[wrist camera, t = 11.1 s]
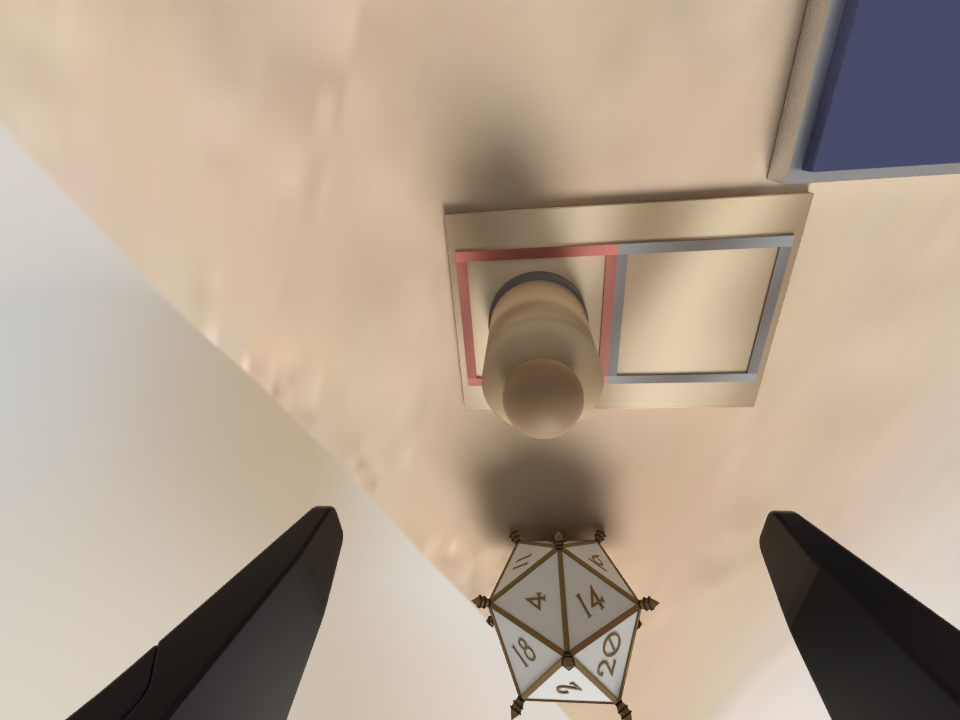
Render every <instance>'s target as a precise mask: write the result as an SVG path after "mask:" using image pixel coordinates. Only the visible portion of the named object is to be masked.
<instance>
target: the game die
mask: <svg viewBox="0 0 960 720" xmlns="http://www.w3.org/2000/svg"><path fill="white" fill-rule="evenodd" d="M509 537H510V538H511V539H512V541H514V542H515V543H516V545H515V547H514V549H513V551H512V553H511V555H510V557H509V560H508V562H507V564H506V566H505V568H504V570H503V572H502V574H501V576H500V578H499V580H498V582H497V584H496V586H495V588H494V590H493V592H492V594H491V597H490V599H488V598H486V597H485V596H484V597H482V596H481V595H479V596H478V597H477V598H475V599H474V600H472V602H473V603H474V604H475V605H476V606H477V607H478V608H481V607H482V608H484V609H485V607H488V608H489V611H490V614H491V616H488V619H487V620H486V622H487V623H488V624H489V625H490V626H491V627H493V626H495V628H496V631H497V634H498V637H499V640H500V643H501V646H502V649H503V652H504V655H505V658H506V661H507V664H508V666H509V669H510V672H511V675H512V678H513V681H514V684H515V687H516V690H517V693H518V698H517V699H516V700H515V701H514V700H513V702H514V703H513V705H512V706H510V707H511V719H512V720H513V719H514V718H515V717H517V716H518V715H521V710H522V709H523V704H524V702H525V701H543V702H568V703H595V704H615V705H616V707H617V709H618V714H620V716H621V717H622V718H621V719H622V720H632V718H631V712H632V711H630V710H629V709H628V707H627V706H628V705H625V704H624V703H623V702H622V700H621V698H622V694H623V689H624V685H625V680H626V676H627V671H628V667H629V662H630V658H631V653H632V649H633V644H634V640H635V636H636V631H637V629H638V628H640V627H641V625H642V623H641V621H640V619H639V618H640V613H641V609H645V610H646V611H647V610H649V609H650V610H651V611H652V610H654V608H655V607H656V606H657V605H658V604H659V602H657V601H655V600H653V599H652V598H650V596H648V598H645V597H643V599H642V600H638V598H637V597H636V595H635V594H634V592H633V591H632V589H631V588H630V587H629V585H628V584H627V582H626V581H625V579H624V578H623V576H622V575H621V574H620V572H619V571H618V569H617V568H616V566H615V565H614V563H613V562H612V560H611V559H610V558H609V556H608V555H607V553H606V552H605V550H604V549H603V547H602V546H601V545H600V542H601V541H602V540H604V537H606V535H605V531H604V527H603V528H601V529H599V530H597V532H596V534H595V540H564V538H565V536H563V535H561V533H560V532H559V531H558V532H557V533H556V535H554V536H553V539H554V540H520V538H519V537H520V535H519V534H518V532H517V531H515V530H513V529H511V528H510V536H509Z"/></svg>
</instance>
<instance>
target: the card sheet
mask: <svg viewBox="0 0 960 720" xmlns="http://www.w3.org/2000/svg"><path fill="white" fill-rule="evenodd" d="M813 195H814V193H810V192H802V193H785V194H768V195H752V196H735V197H718V198H701V199H684V200H668V201H651V202H634V203H617V204H600V205H584V206H567V207H550V208H533V209H516V210H500V211H483V212H466V213H449V214H445V215H444V220H445V229H446V238H447V247H448V257H449V266H450V275H451V284H452V294H453V303H454V312H455V321H456V331H457V340H458V349H459V358H460V368H461V377H462V386H463V395H464V405H465V410H492V409H491V408H490V406H489V405H488V403H487V401H486V399H485V397H484V394H483V390H482V372H483V365H484V359H485V353H486V347H487V341H488V335H489V329H488V319H489V313H490V307H491V304H492V301H493V299H494V297H495V295H496V294H497V292H498V291H499V289H500V288H501V287H502V286H503V285H504V284H505V283H506V282H508V281H509V280H511V279H512V278H514V277H516V276H518V275H521V274H523V273H528V272H534V271H545V272H551V273H554V274H557V275H560V276H562V277H564V278H565V279H567V280H568V281H570V282H571V283H572V284H573V285H574V286H575V287H576V288H577V289H578V291H579V292H580V294H581V296H582V298H583V300H584V303H585V306H586V309H587V312H588V319H589V327H590V330H591V334H592V337H593V340H594V343H595V346H596V349H597V353H598V356H599V359H600V362H601V365H602V368H603V374H604V386H603V391H602V394H601V397H600V399H599V401H598V403H597V404H596V406H595V407H594V409H601V408H700V407H754V404H755V401H756V397H757V394H758V390H759V387H760V383H761V380H762V376H763V372H764V369H765V365H766V362H767V358H768V355H769V351H770V348H771V344H772V340H773V337H774V333H775V330H776V326H777V323H778V319H779V316H780V312H781V308H782V305H783V301H784V298H785V294H786V291H787V287H788V284H789V280H790V277H791V273H792V269H793V266H794V262H795V259H796V255H797V252H798V248H799V245H800V241H801V237H802V234H803V230H804V227H805V223H806V220H807V216H808V213H809V209H810V205H811V202H812V198H813Z"/></svg>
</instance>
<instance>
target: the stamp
mask: <svg viewBox="0 0 960 720" xmlns="http://www.w3.org/2000/svg"><path fill="white" fill-rule="evenodd" d="M488 329H489V335H488V341H487V347H486V353H485V359H484V365H483V372H482V390H483V394H484V397H485V399H486V401H487V403H488V405H489V406H490V408H491V409H492V411H493V412H494V413H495V414H496V415H497V416H498V417H500V418H501V419H502V420H504V421H505V422H507V423H508V424H510V425H512V426H514V427H515V428H516V429H517V430H519V431H520V432H521V433H523V434H525V435H527V436H530V437H532V438H537V439H551V438H555V437H558V436H561V435H563V434H564V433H566V432H567V431H569V430H570V429H571V428H572V427H573V426H574V425H575V424H576V423H578V422H579V421H581V420H582V419H583V418H585V417H586V416H587V415H588V414H589V413H590V412H591V411H592V410H593V409H594V407H595V406H596V404H597V403H598V401H599V399H600V397H601V394H602V391H603V386H604V374H603V368H602V365H601V362H600V359H599V356H598V353H597V349H596V346H595V343H594V340H593V337H592V334H591V330H590V327H589V319H588V312H587V309H586V306H585V303H584V300H583V298H582V296H581V294H580V292H579V291H578V289H577V288H576V287H575V286H574V285H573V284H572V283H571V282H570V281H568V280H567V279H565V278H564V277H562V276H560V275H557V274H554V273H551V272H545V271H534V272H528V273H523V274H521V275H518V276H516V277H514V278H512V279H511V280H509V281H508V282H506V283H505V284H504V285H503V286H502V287H501V288H500V289H499V291H498V292H497V294H496V295H495V297H494V299H493V301H492V304H491V307H490V313H489V319H488Z"/></svg>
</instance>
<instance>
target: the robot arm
mask: <svg viewBox="0 0 960 720" xmlns="http://www.w3.org/2000/svg"><path fill="white" fill-rule="evenodd" d="M342 541H343V531H342V528H341V525H340V522H339V518H338V515H337V512H336V510H335V508H334V507H332V506H316V507H314V508H312V509H311V510H310V511H308V512H307V513H306V514H305V515H304V516H303V517H302V518H300V519H299V520H298V521H297V522H296V523H295V524H294V525H292V526H291V527H290V528H289V529H288V530H287V531H286V532H284V533H283V534H282V535H281V536H280V537H279V538H278V539H277V540H275V541H274V542H273V543H272V544H271V545H270V546H268V547H267V548H266V549H265V550H264V551H263V552H262V553H260V554H259V555H258V556H257V557H256V558H255V559H253V560H252V561H251V562H250V563H249V564H248V565H247V566H245V567H244V568H243V569H242V570H241V571H240V572H239V573H237V574H236V575H235V576H234V577H233V578H232V579H231V580H229V581H228V582H227V583H226V584H225V585H224V586H223V587H221V588H220V589H219V590H218V591H217V592H216V593H215V594H214V595H212V596H211V597H210V598H209V599H208V600H207V601H205V602H204V603H203V604H202V605H201V606H200V607H198V608H197V609H196V610H195V611H194V612H193V613H192V614H190V615H189V616H188V617H187V618H186V619H185V620H183V621H182V622H181V623H180V624H179V625H178V626H177V627H176V628H174V629H173V630H172V631H171V632H170V633H169V634H167V635H166V636H165V637H164V638H163V639H162V640H160V641H159V643H158V646H157V645H156V646H154V647H152V648H151V649H150V650H149V651H148V652H147V653H145V654H144V655H143V656H142V657H141V658H140V659H138V660H137V661H136V662H135V663H134V664H133V665H132V666H130V667H129V668H128V669H127V670H126V671H124V672H123V673H122V674H121V675H120V676H119V677H117V678H116V679H115V680H114V681H113V682H111V683H110V684H109V685H108V686H107V687H106V688H104V689H103V690H102V691H101V692H100V693H98V694H97V695H96V696H95V697H93V698H92V699H91V700H90V701H88V702H87V703H86V704H84V705H83V706H82V707H81V708H80V709H78V710H77V711H76V712H74V713H73V714H72V715H71V716H70V717H68V718H67V719H66V720H287V717H288V714H289V711H290V708H291V706H292V703H293V700H294V697H295V694H296V692H297V689H298V686H299V683H300V680H301V678H302V675H303V672H304V669H305V667H306V664H307V661H308V658H309V655H310V653H311V650H312V647H313V644H314V642H315V639H316V636H317V633H318V630H319V628H320V625H321V622H322V619H323V616H324V613H325V609H326V605H327V602H328V598H329V594H330V590H331V586H332V582H333V578H334V574H335V570H336V566H337V561H338V558H339V554H340V550H341V546H342ZM759 543H760V549H761V552H762V555H763V558H764V561H765V564H766V566H767V569H768V572H769V575H770V578H771V580H772V583H773V586H774V589H775V592H776V594H777V597H778V600H779V603H780V606H781V608H782V611H783V614H784V617H785V619H786V622H787V625H788V627H789V630H790V632H791V634H792V636H793V639H794V641H795V643H796V645H797V647H798V649H799V652H800V654H801V656H802V658H803V660H804V662H805V664H806V666H807V668H808V671H809V673H810V675H811V677H812V679H813V681H814V683H815V685H816V688H817V690H818V692H819V694H820V696H821V698H822V700H823V702H824V704H825V707H826V709H827V711H828V713H829V715H830V717H831V719H832V720H960V630H958V629H957V628H955V627H954V626H953V625H951V624H950V623H949V622H947V621H946V620H944V619H943V618H942V617H940V616H939V615H937V614H936V613H935V612H933V611H932V610H931V609H929V608H928V607H926V606H925V605H924V604H922V603H921V602H919V601H918V600H917V599H915V598H914V597H913V596H911V595H910V594H908V593H907V592H906V591H904V590H903V589H901V588H900V587H899V586H897V585H896V584H895V583H893V582H892V581H890V580H889V579H888V578H886V577H885V576H883V575H882V574H881V573H879V572H878V571H877V570H875V569H874V568H872V567H871V566H870V565H868V564H867V563H865V562H864V561H863V560H861V559H860V558H858V557H857V556H856V555H854V554H853V553H852V552H850V551H849V550H847V549H846V548H845V547H843V546H842V545H840V544H839V543H838V542H836V541H835V540H834V539H832V538H831V537H829V536H828V535H827V534H825V533H824V532H822V531H821V530H820V529H818V528H817V527H816V526H814V525H813V524H811V523H810V522H809V521H807V520H806V519H804V518H803V517H802V516H800V515H799V514H797V513H795V512H793V511H771V512H770V513H769V514H768V516H767V519H766V521H765V524H764V527H763V530H762V533H761V536H760V541H759Z"/></svg>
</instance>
